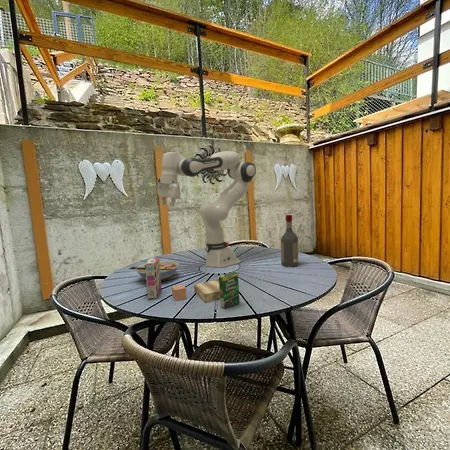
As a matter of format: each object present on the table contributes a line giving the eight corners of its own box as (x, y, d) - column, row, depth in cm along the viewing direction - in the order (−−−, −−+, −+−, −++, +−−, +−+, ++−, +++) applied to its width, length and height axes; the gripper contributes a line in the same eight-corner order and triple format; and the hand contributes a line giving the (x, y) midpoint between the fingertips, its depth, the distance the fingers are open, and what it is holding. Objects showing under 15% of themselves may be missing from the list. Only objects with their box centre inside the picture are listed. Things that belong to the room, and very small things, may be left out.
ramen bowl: (188, 273, 154) (187, 259, 153) (169, 287, 132) (168, 271, 131) (150, 271, 161) (148, 258, 160) (126, 285, 139) (125, 270, 138)
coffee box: (223, 309, 105) (221, 277, 103) (219, 306, 107) (218, 275, 105) (240, 303, 109) (238, 273, 107) (236, 301, 111) (234, 271, 110)
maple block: (217, 287, 130) (217, 279, 129) (230, 297, 117) (229, 288, 116) (194, 292, 125) (194, 284, 124) (204, 303, 112) (204, 294, 112)
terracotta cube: (183, 294, 122) (182, 284, 121) (186, 298, 117) (185, 287, 117) (172, 297, 120) (171, 286, 119) (175, 301, 115) (174, 290, 115)
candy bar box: (158, 298, 119) (155, 263, 116) (147, 299, 118) (143, 264, 116) (162, 289, 130) (159, 257, 128) (152, 290, 129) (148, 257, 127)
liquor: (280, 266, 156) (279, 216, 152) (283, 262, 165) (282, 214, 161) (296, 267, 153) (295, 216, 149) (298, 263, 161) (297, 214, 157)
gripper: (184, 181, 141) (182, 207, 143) (165, 180, 156) (164, 203, 158) (173, 180, 137) (172, 207, 139) (155, 179, 152) (154, 203, 154)
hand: (168, 205), depth 149 cm, fingers open, 8 cm apart
